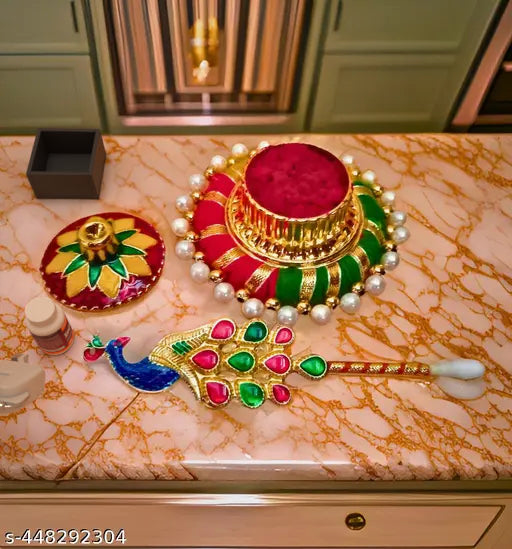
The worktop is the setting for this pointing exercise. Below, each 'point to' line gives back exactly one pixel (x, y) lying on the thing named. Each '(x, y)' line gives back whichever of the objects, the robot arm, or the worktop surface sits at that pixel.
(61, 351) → the pill bottle
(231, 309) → the worktop surface
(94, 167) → the trash bin
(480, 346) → the worktop surface
